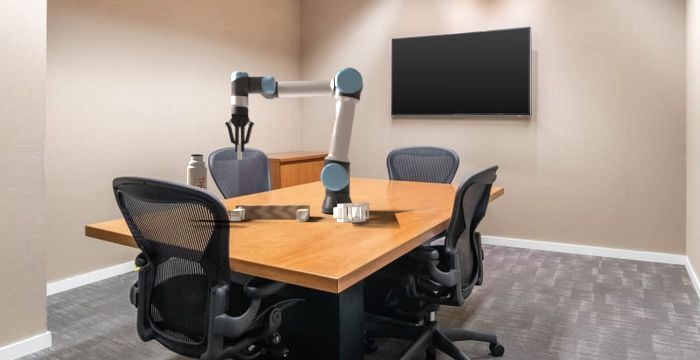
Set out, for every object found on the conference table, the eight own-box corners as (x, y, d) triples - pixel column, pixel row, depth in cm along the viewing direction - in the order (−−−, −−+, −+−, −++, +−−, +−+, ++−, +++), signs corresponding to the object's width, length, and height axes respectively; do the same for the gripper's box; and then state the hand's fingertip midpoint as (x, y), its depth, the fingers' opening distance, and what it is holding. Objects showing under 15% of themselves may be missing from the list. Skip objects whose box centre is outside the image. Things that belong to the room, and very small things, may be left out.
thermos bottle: (207, 220, 214) (208, 154, 214) (187, 221, 211) (188, 153, 211) (205, 219, 222) (205, 154, 222) (186, 220, 219) (186, 154, 219)
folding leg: (239, 221, 209) (239, 208, 209) (230, 221, 209) (230, 208, 209) (245, 218, 224) (245, 206, 224) (237, 218, 223) (237, 206, 223)
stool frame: (309, 218, 230) (309, 204, 230) (305, 221, 210) (305, 207, 210) (231, 218, 231) (231, 204, 231) (219, 221, 211) (219, 207, 211)
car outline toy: (359, 218, 229) (360, 202, 229) (378, 220, 222) (378, 203, 222) (327, 221, 215) (327, 203, 215) (346, 222, 207) (346, 204, 207)
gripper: (256, 108, 233) (256, 159, 233) (227, 108, 234) (227, 159, 234) (252, 105, 226) (252, 159, 226) (223, 105, 226) (223, 159, 226)
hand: (239, 159), depth 230 cm, fingers closed
